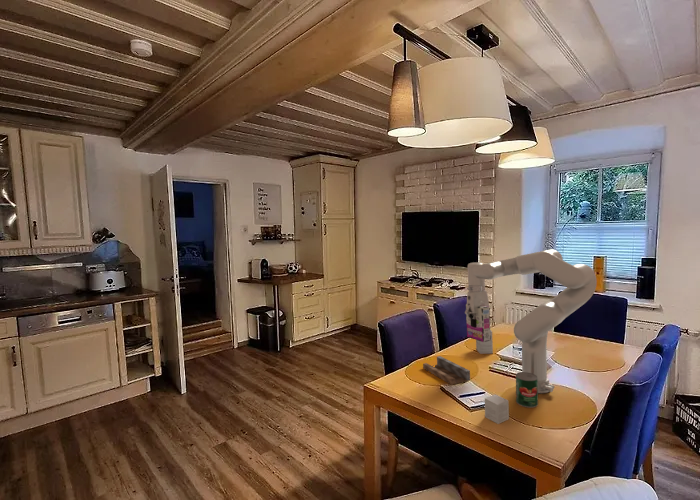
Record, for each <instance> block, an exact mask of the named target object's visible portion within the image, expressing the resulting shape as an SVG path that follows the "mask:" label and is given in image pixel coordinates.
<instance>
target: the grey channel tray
mask: <svg viewBox="0 0 700 500" xmlns="http://www.w3.org/2000/svg"><path fill="white" fill-rule="evenodd" d="M434 365H435V367H433V366H434ZM434 365H431V364H429V363H427V362H425V363H423V364H422V369H423V368H424V370H425V369H426V370H425V371H426V372H428V371H429V373H430V372H431V373H430V374H432V375H433V374H434V375H433V376H435V377H437V378H439V379H441V380H442V381H444V382H446V383H448V384H449V385H451V386H454V385H457V384H461V383H465V382H468V381H471V370H469V369H468V368H465V367H463V366H462V365H459V364H458V363H455V362H453V361H451V360H449V359H447V358H445V357H443V356H441V355H439V356H436V364H434ZM453 384H454V385H453Z"/></svg>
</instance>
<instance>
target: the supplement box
mask: <svg viewBox="0 0 700 500" xmlns="http://www.w3.org/2000/svg"><path fill="white" fill-rule="evenodd" d="M490 333H491V341H487V342H481V341H478V340H475V346H476V347H475V349H476V351H477V353H479V354H480V355H482V354H483V355H484V354H486V355H487V354H493V353H494V350H493V349H494V347H493V343H494V342H493V331H492V330H491V329H490Z"/></svg>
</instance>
